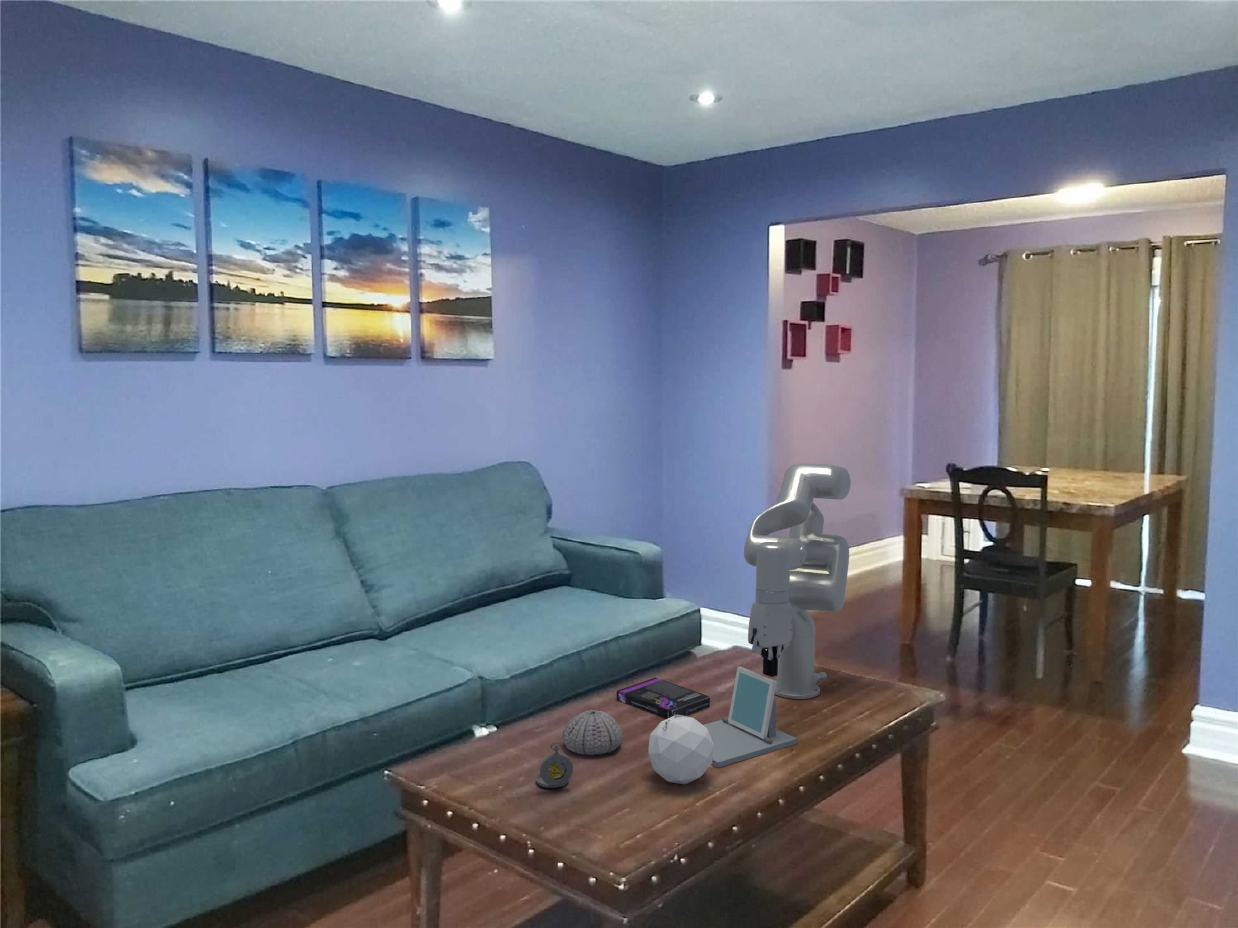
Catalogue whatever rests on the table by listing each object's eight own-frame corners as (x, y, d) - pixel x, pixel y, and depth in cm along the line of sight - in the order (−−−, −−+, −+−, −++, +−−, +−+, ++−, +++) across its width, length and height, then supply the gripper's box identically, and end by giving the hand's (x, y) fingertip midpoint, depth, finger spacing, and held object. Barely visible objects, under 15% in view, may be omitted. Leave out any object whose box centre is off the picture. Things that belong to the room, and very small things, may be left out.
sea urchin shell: (617, 761, 203) (617, 725, 202) (555, 757, 206) (555, 721, 205) (627, 737, 216) (627, 703, 215) (569, 733, 219) (569, 699, 218)
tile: (740, 666, 222) (737, 666, 221) (776, 681, 212) (773, 680, 211) (730, 721, 221) (727, 721, 221) (766, 738, 212) (763, 738, 211)
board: (743, 718, 228) (744, 680, 227) (797, 743, 213) (798, 703, 212) (666, 739, 215) (666, 699, 214) (718, 767, 200) (718, 724, 199)
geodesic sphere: (676, 778, 182) (702, 711, 187) (621, 759, 191) (648, 695, 196) (710, 801, 191) (734, 737, 196) (657, 782, 200) (681, 720, 205)
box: (616, 703, 240) (671, 723, 226) (615, 689, 240) (671, 709, 226) (655, 689, 250) (711, 708, 235) (654, 676, 249) (710, 694, 235)
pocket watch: (551, 772, 197) (551, 726, 196) (582, 784, 192) (582, 736, 191) (523, 786, 191) (523, 737, 190) (554, 798, 186) (554, 748, 185)
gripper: (784, 589, 224) (782, 665, 226) (736, 597, 216) (734, 676, 217) (807, 595, 218) (805, 673, 220) (759, 603, 210) (756, 684, 211)
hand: (770, 674), depth 219 cm, fingers closed
